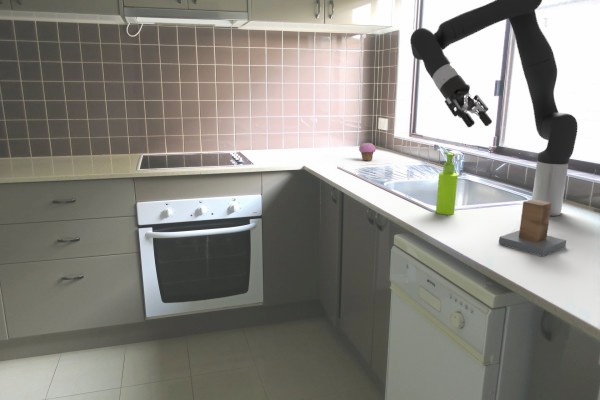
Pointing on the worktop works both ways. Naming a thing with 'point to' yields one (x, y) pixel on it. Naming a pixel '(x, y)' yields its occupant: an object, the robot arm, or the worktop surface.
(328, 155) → the worktop surface
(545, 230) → the walnut block
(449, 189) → the soap dispenser
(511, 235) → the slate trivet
